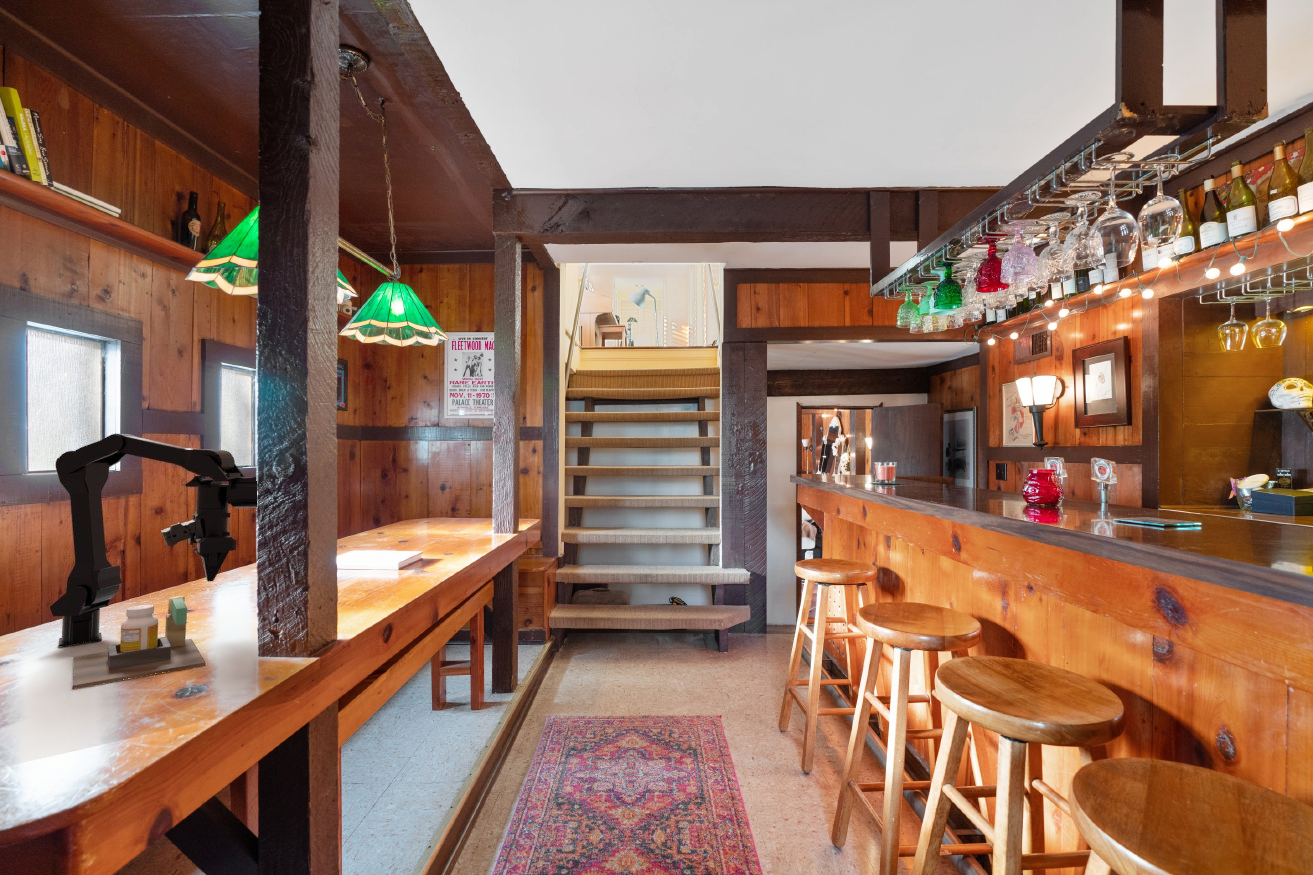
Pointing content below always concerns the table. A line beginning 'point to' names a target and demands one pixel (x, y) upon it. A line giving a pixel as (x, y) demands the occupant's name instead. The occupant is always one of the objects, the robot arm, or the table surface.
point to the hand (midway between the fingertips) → (210, 581)
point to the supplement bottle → (139, 629)
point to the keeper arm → (178, 609)
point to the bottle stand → (138, 659)
